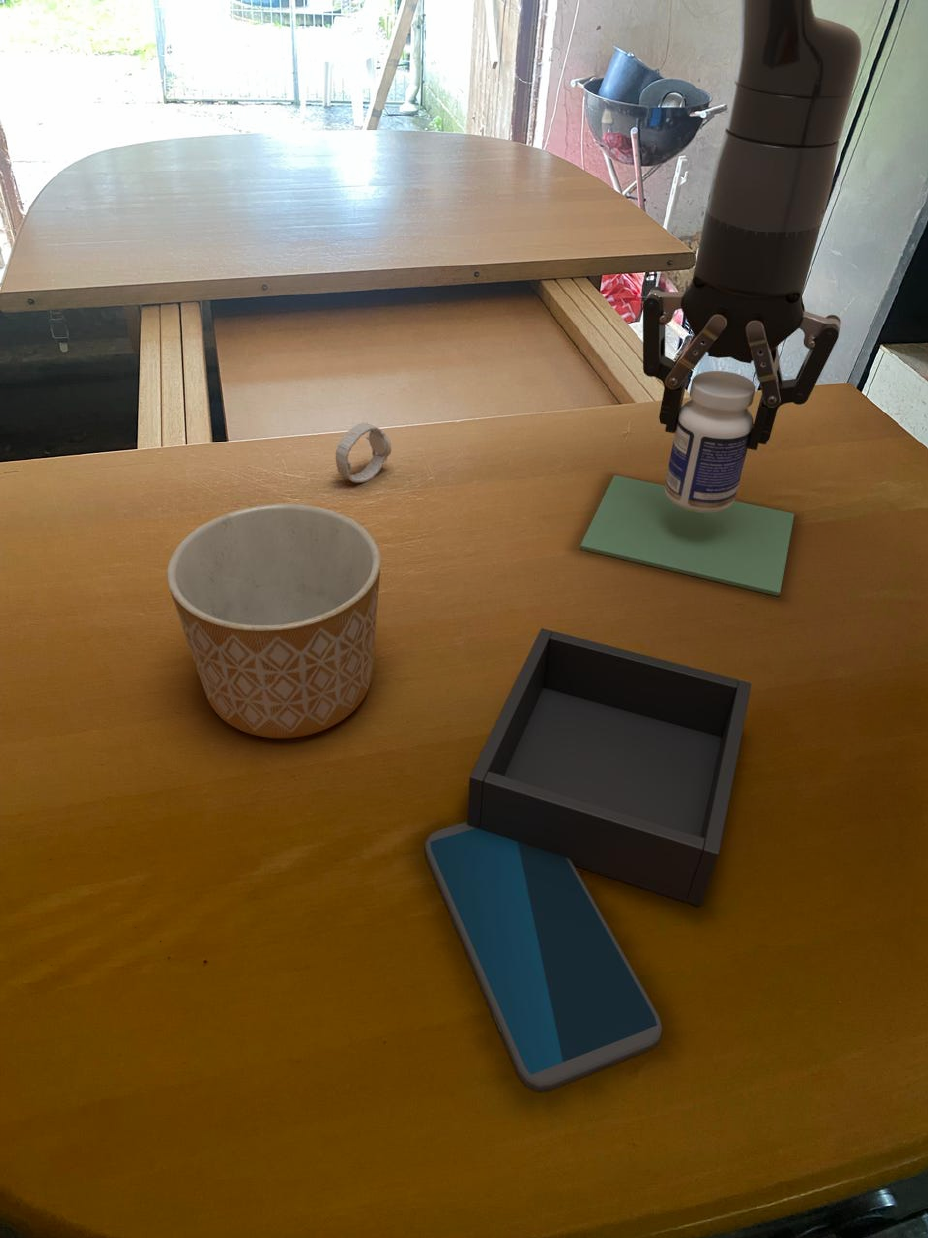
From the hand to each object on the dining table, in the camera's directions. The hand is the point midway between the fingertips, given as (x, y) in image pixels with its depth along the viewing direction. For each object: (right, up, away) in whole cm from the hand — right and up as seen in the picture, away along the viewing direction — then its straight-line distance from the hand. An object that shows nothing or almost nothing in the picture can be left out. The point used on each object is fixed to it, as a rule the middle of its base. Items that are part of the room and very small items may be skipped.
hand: (712, 435), depth 72 cm
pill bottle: (0, -4, +4) cm, 6 cm away
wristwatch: (-29, -2, +11) cm, 31 cm away
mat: (0, -7, +6) cm, 9 cm away
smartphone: (-16, -31, -23) cm, 42 cm away
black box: (-11, -24, -15) cm, 30 cm away
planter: (-31, -19, -9) cm, 38 cm away
